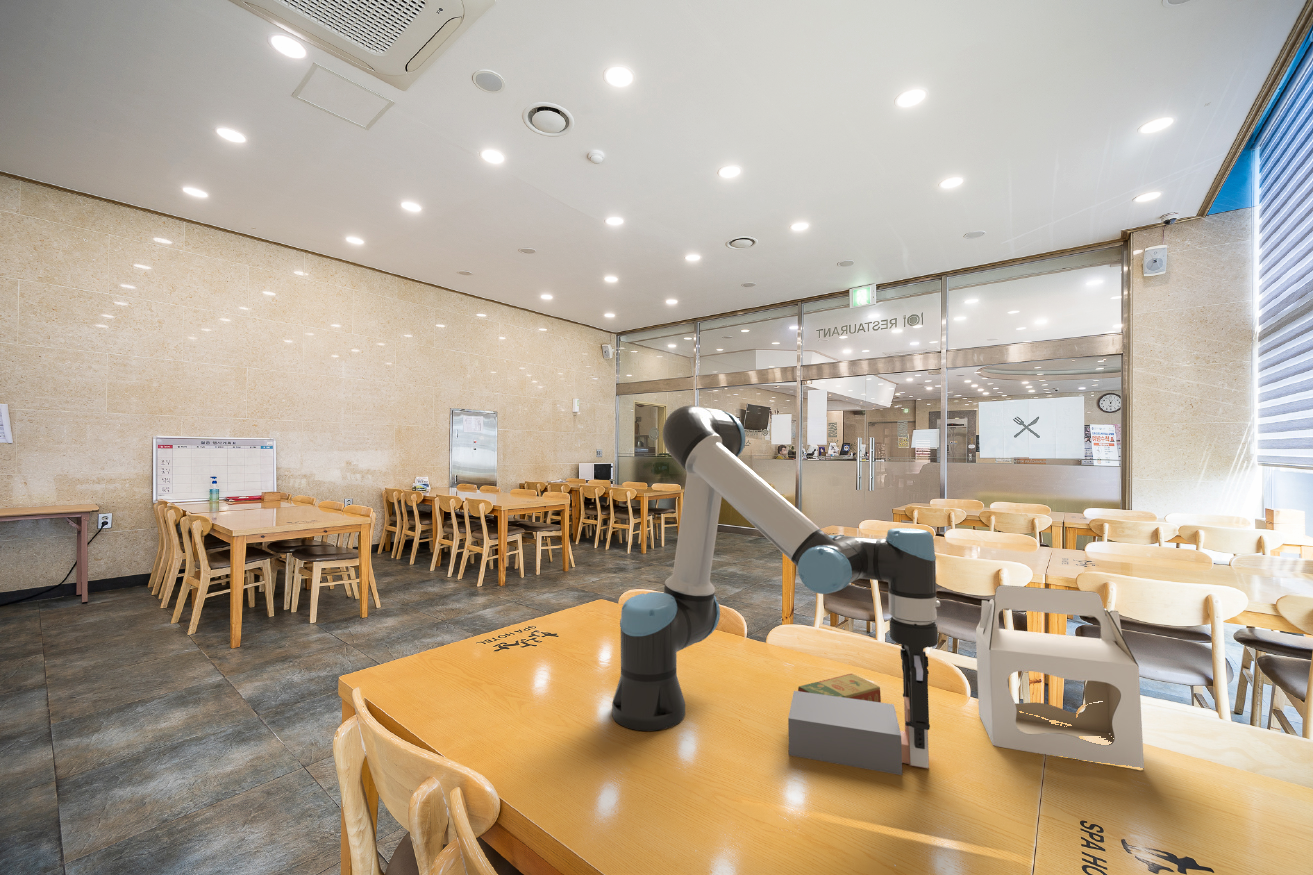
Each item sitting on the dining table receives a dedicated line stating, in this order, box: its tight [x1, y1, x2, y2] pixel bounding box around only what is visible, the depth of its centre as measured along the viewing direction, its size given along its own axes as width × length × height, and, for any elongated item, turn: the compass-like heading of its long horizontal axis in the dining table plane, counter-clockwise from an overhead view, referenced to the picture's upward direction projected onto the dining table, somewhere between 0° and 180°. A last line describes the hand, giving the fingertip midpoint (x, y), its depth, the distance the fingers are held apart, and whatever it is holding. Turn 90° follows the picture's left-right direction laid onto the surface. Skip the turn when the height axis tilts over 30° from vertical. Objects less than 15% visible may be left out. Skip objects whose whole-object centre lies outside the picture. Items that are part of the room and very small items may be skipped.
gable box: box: [975, 584, 1145, 769], centre depth 98 cm, size 22×13×28 cm, turn 68°
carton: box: [797, 673, 882, 703], centre depth 112 cm, size 8×16×4 cm, turn 116°
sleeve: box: [787, 690, 903, 776], centre depth 94 cm, size 18×12×7 cm, turn 71°
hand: (916, 756), depth 90 cm, fingers closed on tray, 5 cm apart
